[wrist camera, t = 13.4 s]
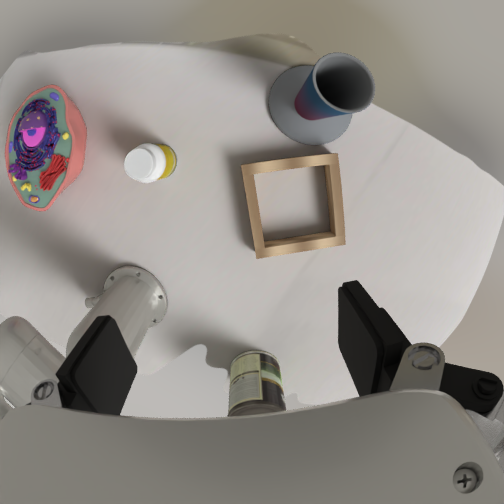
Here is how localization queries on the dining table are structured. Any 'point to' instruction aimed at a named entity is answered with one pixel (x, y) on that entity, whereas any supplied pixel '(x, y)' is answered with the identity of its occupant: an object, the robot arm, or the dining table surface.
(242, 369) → the coffee can
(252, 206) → the socket
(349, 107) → the cup
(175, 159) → the supplement bottle
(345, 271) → the dining table surface
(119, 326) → the robot arm
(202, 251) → the dining table surface
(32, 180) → the cell model
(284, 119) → the disc
